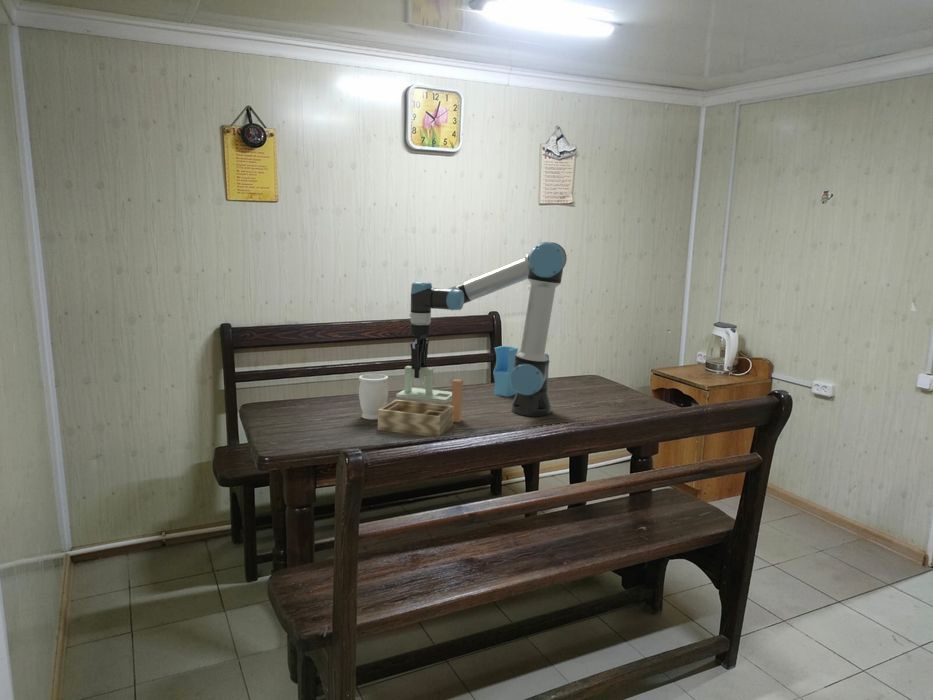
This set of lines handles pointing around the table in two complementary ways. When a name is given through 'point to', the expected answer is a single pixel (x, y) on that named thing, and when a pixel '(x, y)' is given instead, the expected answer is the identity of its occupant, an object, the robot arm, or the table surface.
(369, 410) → the jar
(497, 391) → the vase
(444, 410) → the wooden box
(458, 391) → the key peg
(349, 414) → the table surface
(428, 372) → the lid
